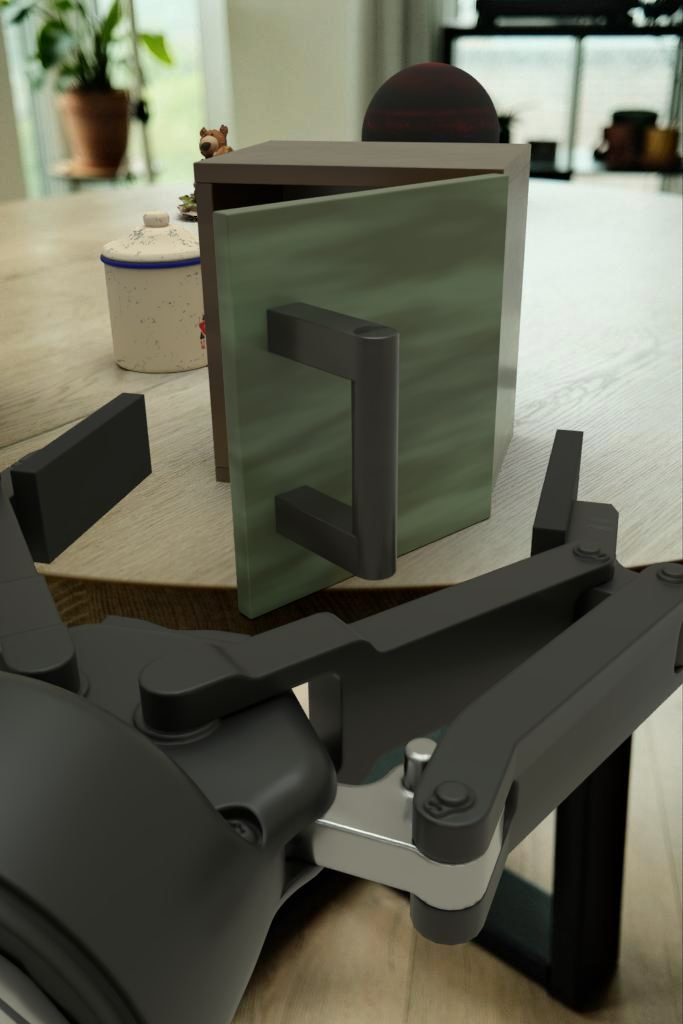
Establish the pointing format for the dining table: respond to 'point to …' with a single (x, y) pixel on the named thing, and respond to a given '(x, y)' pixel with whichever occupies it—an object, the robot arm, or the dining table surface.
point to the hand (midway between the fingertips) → (340, 451)
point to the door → (358, 377)
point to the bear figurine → (209, 147)
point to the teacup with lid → (156, 297)
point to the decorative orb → (431, 108)
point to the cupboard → (348, 169)
